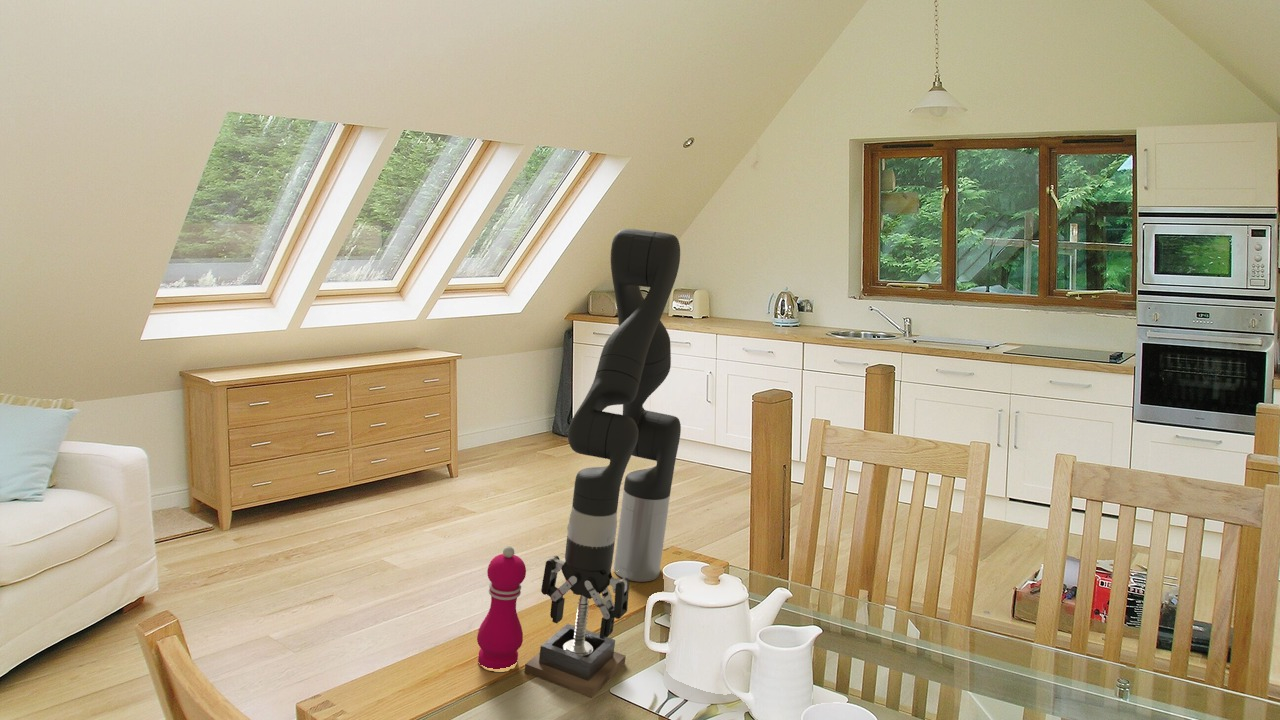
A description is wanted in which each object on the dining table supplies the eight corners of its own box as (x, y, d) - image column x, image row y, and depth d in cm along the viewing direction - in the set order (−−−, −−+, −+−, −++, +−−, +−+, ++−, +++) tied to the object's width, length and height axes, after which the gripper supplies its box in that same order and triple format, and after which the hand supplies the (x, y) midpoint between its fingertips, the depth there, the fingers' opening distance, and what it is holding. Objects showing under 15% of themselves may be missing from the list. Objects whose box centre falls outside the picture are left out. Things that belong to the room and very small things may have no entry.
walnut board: (561, 641, 163) (562, 633, 163) (624, 663, 158) (625, 655, 158) (524, 672, 152) (525, 663, 152) (591, 697, 148) (592, 688, 147)
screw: (573, 648, 158) (597, 659, 156) (555, 659, 154) (579, 671, 152) (582, 575, 156) (606, 585, 153) (564, 585, 151) (589, 595, 149)
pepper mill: (516, 677, 151) (529, 559, 146) (470, 671, 151) (482, 553, 146) (523, 653, 158) (535, 540, 153) (479, 648, 158) (490, 534, 153)
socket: (565, 639, 161) (567, 623, 160) (613, 656, 157) (615, 640, 157) (538, 662, 153) (540, 645, 152) (588, 681, 149) (590, 663, 149)
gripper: (642, 539, 151) (630, 633, 155) (563, 515, 156) (553, 606, 160) (622, 555, 144) (609, 653, 148) (540, 530, 150) (530, 624, 153)
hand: (580, 628), depth 154 cm, fingers open, 8 cm apart
